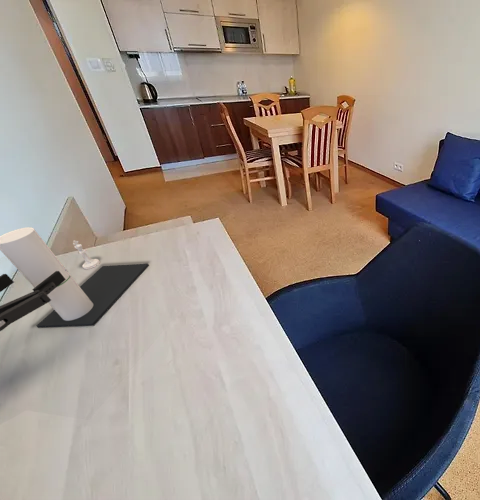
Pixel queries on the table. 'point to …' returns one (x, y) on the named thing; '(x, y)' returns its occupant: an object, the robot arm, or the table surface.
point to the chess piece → (86, 257)
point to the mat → (100, 294)
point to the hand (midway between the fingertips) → (34, 276)
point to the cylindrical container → (44, 271)
